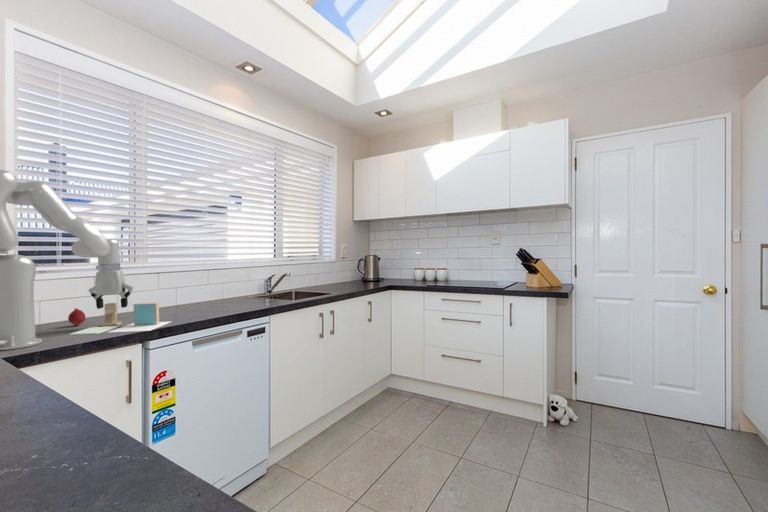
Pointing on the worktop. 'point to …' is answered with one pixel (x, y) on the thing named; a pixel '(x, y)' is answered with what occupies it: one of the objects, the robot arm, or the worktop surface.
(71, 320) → the onion
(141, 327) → the mat
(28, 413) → the worktop surface
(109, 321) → the wooden block stack
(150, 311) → the tile
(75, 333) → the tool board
